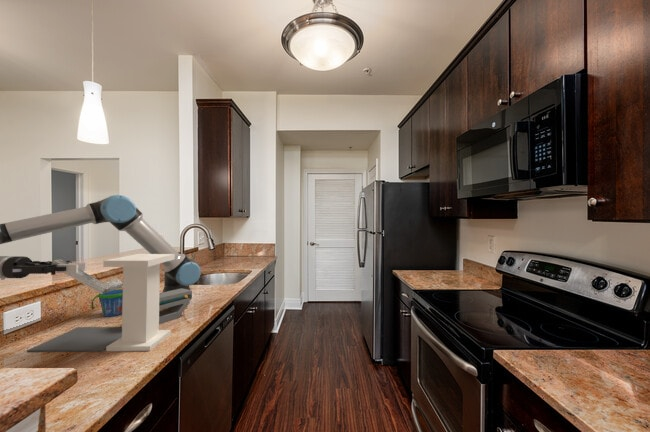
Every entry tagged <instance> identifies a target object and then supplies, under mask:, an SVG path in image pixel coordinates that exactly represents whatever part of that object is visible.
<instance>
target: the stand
mask: <svg viewBox="0 0 650 432" xmlns="http://www.w3.org/2000/svg"><path fill="white" fill-rule="evenodd" d="M174 259H175V254H150V253H135V254H130V255H125V256H121V257H115V258H110V259H105V260H103V264H102V265H103V266H102V267H103V268H122V282H123V285H122V289H123V307H122V314H121V315H122V316H121V318H122V319H121V327H122V337H121V338H120V339H118V340H117V341H115V342H113V343H112V344H110V345H108V346H107V347H106V350H105V351H106V352H151V351H152V350H153V349H154V348H155V347H157V346H158V345H159V344H160V343H162V342H163V341H165V339H167V338H168V337H169V336H171V335H172V329H160V324H159V311H160V310H159V293H160V285H161V284H160V283H161V282H160V280H161V279H160V277H161V276H160V275H161V267H160V266H161V263H163V262H167V261H170V260H174Z"/></svg>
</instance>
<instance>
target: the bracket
mask: <svg viewBox="0 0 650 432" xmlns="http://www.w3.org/2000/svg"><path fill="white" fill-rule="evenodd" d="M58 264H69V263H67V262H66V261H65V260H63V259H60V258H59V259H54V260H52V264H51V265H56V266H57V265H58ZM64 274H65V275H67V276H68V277H70V278H72V279H74V280H76V281H77V282H79V283H80V284H83V286H86V287H88V288H89V289H91V290H93V291H95V292H97V293H98V294H104V293H107V292H110V291H113V290H118V289H121V288H123V281H121V280H119V279H116V278H115V279H112V280H110V281H106V282H103V281H101V280H99V279H97V278H95V277H94V276H91V275H90V274H88V273H87V272H86V271H85V272H84V271H81V270H79V269H78V272H77V273H64Z"/></svg>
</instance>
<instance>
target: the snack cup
mask: <svg viewBox="0 0 650 432" xmlns="http://www.w3.org/2000/svg"><path fill="white" fill-rule="evenodd" d="M97 298H98V299H99V302H100V308H101V312H102V313H101V314H102V316H104V317H105V318H106V317H108V318H109V317H115V316H119V315H122V307H123V288H122V289H121V288H119V289H116V290H113V291H110V292H107V293H104V294H100V293H98V294H97V295H96V296H94V297H93V298H92V301H91V303H90V306H91V307H90V308H91V310H94V309H95V307H94V302H95V299H97Z"/></svg>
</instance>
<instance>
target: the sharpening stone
mask: <svg viewBox="0 0 650 432" xmlns="http://www.w3.org/2000/svg"><path fill="white" fill-rule="evenodd" d="M189 294H192V295H193V290H191V289H190V290H188V289H183V288H181V289H176V290H172V291H167V292H163V291H162V292H159V325H162V324H164V323H168V322H172V321H176V320H178V319H179V318H180V316H182V314H183V313H184V311H185V310H187V309H186V307H187V306H189V304H191V299H190V298H186V297H185V295H189ZM165 308H168V309H166V310H163V311H161V310H162V309H165Z"/></svg>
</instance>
